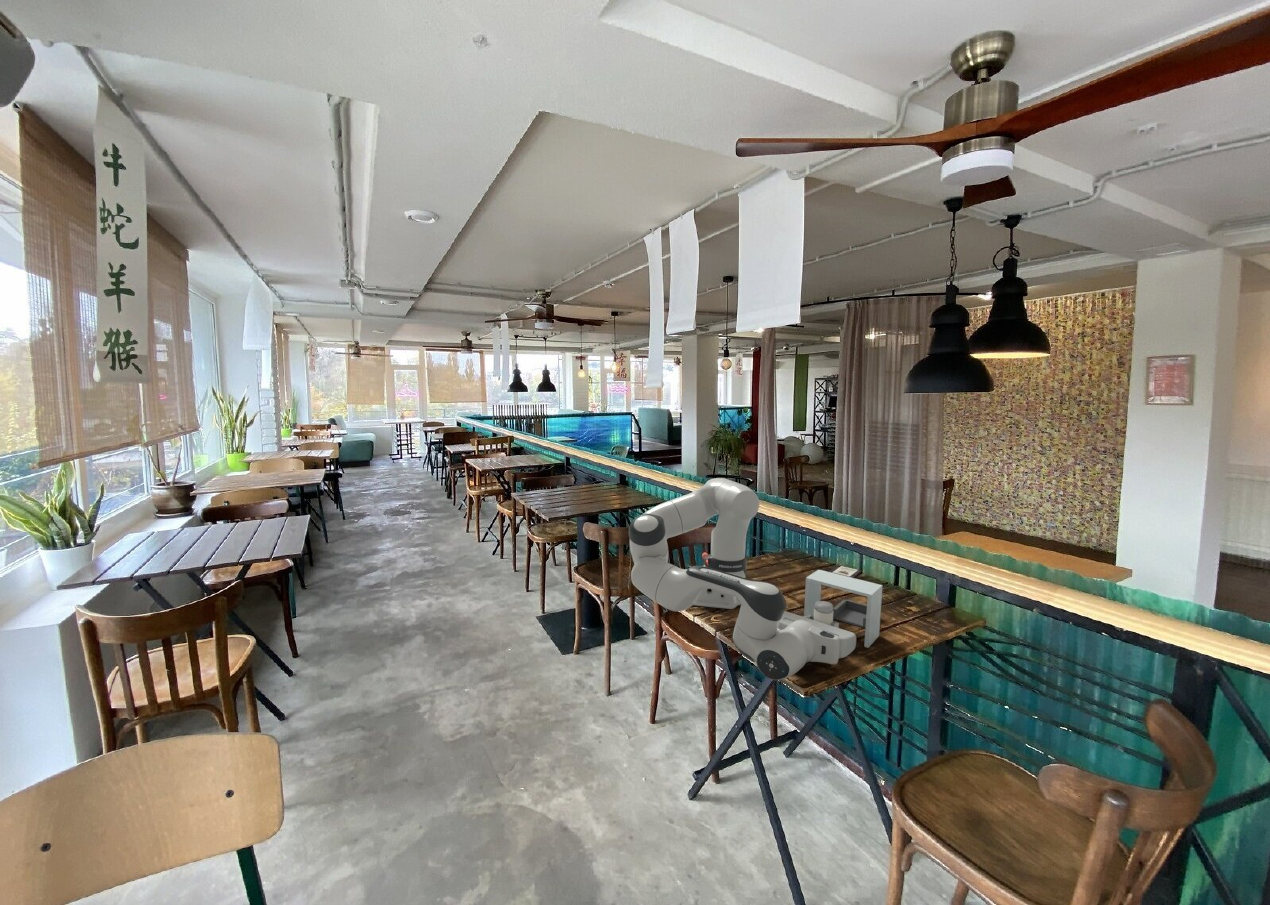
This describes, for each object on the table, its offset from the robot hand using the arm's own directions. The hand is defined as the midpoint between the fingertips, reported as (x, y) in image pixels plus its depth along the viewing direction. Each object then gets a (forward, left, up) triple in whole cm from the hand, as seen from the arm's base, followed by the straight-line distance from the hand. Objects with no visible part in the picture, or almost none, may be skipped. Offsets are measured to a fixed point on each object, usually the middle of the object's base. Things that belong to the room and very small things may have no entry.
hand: (824, 621), depth 135 cm
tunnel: (+8, +10, -7) cm, 15 cm away
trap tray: (+15, +19, -7) cm, 25 cm away
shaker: (-1, -1, -6) cm, 6 cm away
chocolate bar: (+24, +54, -8) cm, 59 cm away
